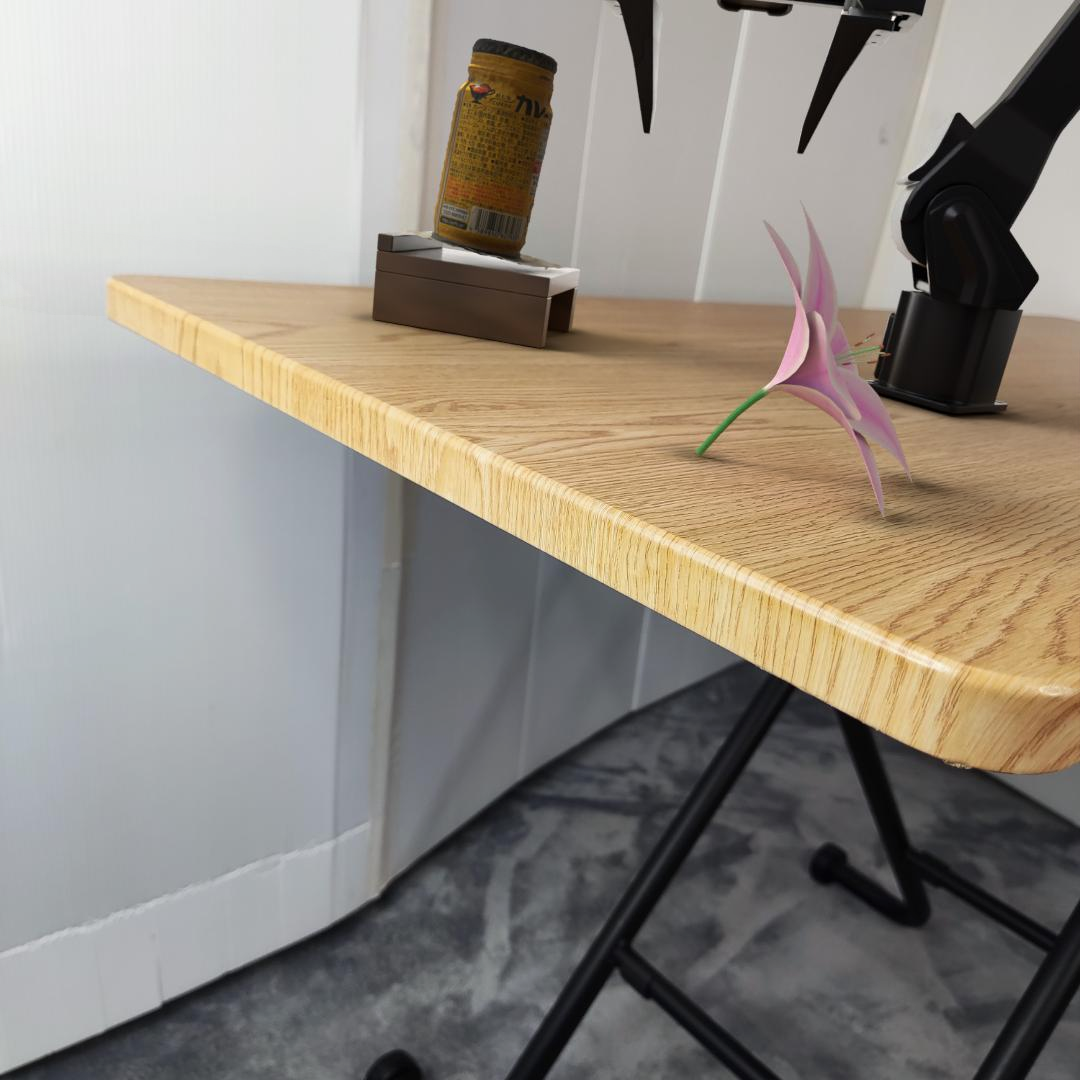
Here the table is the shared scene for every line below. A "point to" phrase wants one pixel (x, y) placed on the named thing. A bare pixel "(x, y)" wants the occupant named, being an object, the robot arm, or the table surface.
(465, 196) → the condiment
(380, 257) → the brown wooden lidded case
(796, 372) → the lily
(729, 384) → the table surface
